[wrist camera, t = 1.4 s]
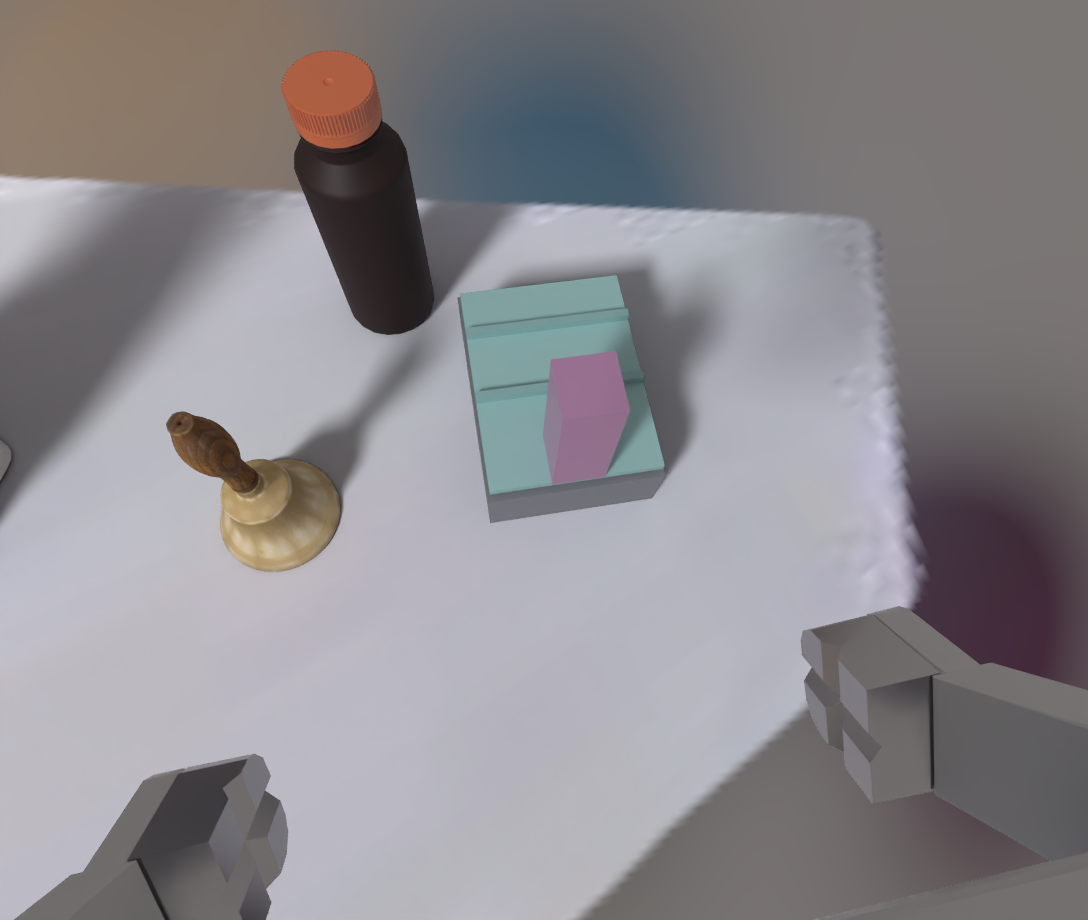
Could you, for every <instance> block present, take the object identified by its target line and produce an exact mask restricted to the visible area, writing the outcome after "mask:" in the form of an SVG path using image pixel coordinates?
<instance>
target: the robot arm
mask: <svg viewBox="0 0 1088 920" xmlns="http://www.w3.org/2000/svg"><path fill="white" fill-rule="evenodd" d="M10 460H11V450H10V449H9V447H8V446H7V445H6V444H5V443H3V442H2V441H1V440H0V480H1V478H2V477H3V475H4V473H5V471H6V469H7V468H8V465H9V463H10ZM801 649H802V656H803V657H804V658H805V659H806V661H807V662H808V663H809V664H810V665H811V667H812V668H811V670H810V671H809V673H808V675H807V676H806V678H805V680H804V684H805V692H806V700H807V703H808V706H809V709H810V712H811V715H812V719H813V720H814V723H815V724H816V726H817V728H818V730H819V732H820V734H821V735H822V736H823V738H824V739H825V741H826V742H827V743H828V745H830V746H832V747H834V748H836V749H839V750H841V751H843V752H844V756H845V768H846V769H847V770H848V772H849V773H850V774H851V776H852V777H853V778H854V780H855V781H856V782H857V784H858V785H859V786H860V787H861V789H862V790H863V792H864V793H865V794H866V796H867V797H868V798H869V800H870V801H871V802H872V803H878V802H883V801H888V800H893V799H898V798H903V797H907V796H912V795H917V794H921V793H927V792H931V791H934V793H935V795H937V796H939V797H940V798H942V799H944V800H946V801H947V802H949V803H951V804H953V805H955V806H956V807H958V808H960V809H961V810H963V811H965V812H967V813H968V814H970V815H972V816H974V817H975V818H977V819H979V820H981V821H982V822H984V823H986V824H988V825H989V826H991V827H993V828H995V829H996V830H998V831H1000V832H1002V833H1003V834H1005V835H1007V836H1009V837H1010V838H1012V839H1014V840H1016V841H1017V842H1019V843H1021V844H1023V845H1024V846H1026V847H1028V848H1030V849H1031V850H1033V851H1035V852H1037V853H1038V854H1040V855H1042V856H1044V857H1045V858H1047V859H1049V860H1051V861H1050V862H1045V863H1042V864H1038V865H1033V866H1029V867H1025V868H1021V869H1017V870H1013V871H1009V872H1005V873H1001V874H997V875H993V876H989V877H985V878H981V879H977V880H973V881H969V882H965V883H960V884H956V885H952V886H948V887H944V888H940V889H936V890H932V891H928V892H924V893H921V894H916V895H912V896H908V897H904V898H900V899H896V900H892V901H888V902H884V903H880V904H876V905H872V906H868V907H863V908H859V909H855V910H851V911H847V912H842V913H838V914H834V915H830V916H826V917H822V918H818V919H814V920H1088V690H1084V689H1081V688H1077V687H1074V686H1070V685H1067V684H1063V683H1060V682H1056V681H1053V680H1049V679H1045V678H1042V677H1039V676H1035V675H1032V674H1028V673H1025V672H1022V671H1018V670H1014V669H1011V668H1008V667H1004V666H1000V665H997V664H994V663H988V664H983V665H980V664H978V663H977V662H976V661H975V660H973V659H972V658H971V657H969V656H968V655H967V654H965V653H964V652H963V651H962V650H960V649H959V648H958V647H957V646H955V645H954V644H953V643H951V642H950V641H949V640H947V639H946V638H945V637H944V636H942V635H941V634H940V633H938V632H937V631H936V630H935V629H933V628H932V627H931V626H929V625H928V624H927V623H925V622H924V621H923V620H922V619H920V618H919V617H918V616H917V615H915V614H914V613H913V612H911V611H910V610H909V609H907V608H904V607H900V606H898V607H894V608H890V609H886V610H883V611H879V612H875V613H871V614H867V616H863V617H859V618H854V619H850V620H846V621H842V622H838V623H833V624H829V625H825V626H821V627H817V628H812V629H808V630H804V631H803V632H802V637H801ZM270 777H271V775H270V773H269V771H268V769H267V766H266V764H265V762H264V759H263V757H260V756H258V755H256V754H251V755H246V756H241V757H236V758H232V759H227V760H222V761H217V762H212V763H207V764H202V765H197V766H192V767H188V768H186V769H178V770H174V771H169V772H165V773H160V774H156V775H153V776H151V777H149V778H147V779H146V780H144V781H143V782H142V783H141V785H140V787H139V788H138V790H137V791H136V793H135V794H134V796H133V797H132V799H131V800H130V802H129V803H128V805H127V806H126V808H125V809H124V811H123V812H122V814H121V815H120V817H119V818H118V820H117V821H116V823H115V824H114V826H113V827H112V829H111V830H110V832H109V833H108V835H107V837H106V838H105V840H104V841H103V843H102V844H101V846H100V847H99V849H98V850H97V852H96V853H95V855H94V856H93V858H92V859H91V861H90V862H89V864H88V865H87V867H86V868H85V870H84V871H83V872H82V873H77V874H73V875H70V876H69V877H68V878H67V879H65V880H64V881H63V882H61V883H60V884H59V885H58V886H56V887H55V888H54V889H53V890H51V891H50V892H49V893H47V894H46V895H45V896H44V897H42V898H41V899H40V900H39V901H37V902H36V903H35V904H33V905H32V906H31V907H30V908H28V909H27V910H26V911H25V912H23V913H22V914H21V915H20V916H18V917H17V918H16V919H14V920H266V917H267V914H268V911H269V908H270V905H271V900H270V898H269V895H268V893H267V890H266V889H267V887H268V886H269V885H270V884H271V883H272V882H273V881H274V880H275V879H276V878H277V877H278V876H279V874H280V873H281V871H282V868H283V865H284V861H285V858H286V855H287V841H288V828H287V822H286V816H285V812H284V810H283V807H282V804H281V801H280V800H278V799H277V798H275V797H274V796H272V795H271V794H269V793H268V792H266V791H265V789H266V787H267V784H268V782H269V779H270Z"/></svg>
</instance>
